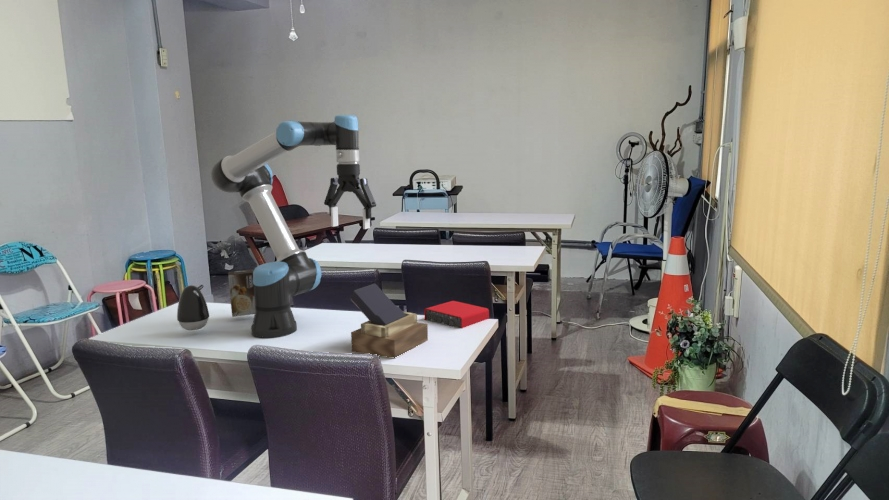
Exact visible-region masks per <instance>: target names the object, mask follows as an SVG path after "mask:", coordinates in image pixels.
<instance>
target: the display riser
mask: <svg viewBox="0 0 889 500" xmlns="http://www.w3.org/2000/svg"><path fill="white" fill-rule="evenodd" d="M403 312H404V313H405V314H406V317H403V318H401V319H399V320H397V321H394V322H392V323H390V324H388V325H385V326H381V325H375V324H373V323H372V322H370V321H369V320H367V321H364V322H362V323H360V328H358V329H356V330H353V331H351V332H350V336H351V337H350V339H351V352H353V353H359V354H364V353H370V354H377V355H380V356H379V357H382V356H387V357H386V358H389V357H394V358H393V359H396V358H395V357H397V356H399V355H401V354H402V355H404V354H406V353H408V352H409V350H410V351H412V350H413V349H415V348H417V347H418V345H419V346H420V345H422V344H424V343H426V342H427V341H428V340H429V339H428V337H429V333H428V332H429V331H428V323H423V322H418V313H413V312H407V311H403ZM416 346H417V347H416ZM407 351H408V352H407ZM405 352H406V353H405ZM403 353H404V354H403ZM370 354H369V355H370ZM402 355H401V356H402ZM399 357H400V356H399ZM397 358H398V357H397Z"/></svg>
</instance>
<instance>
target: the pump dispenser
mask: <svg viewBox="0 0 889 500" xmlns="http://www.w3.org/2000/svg"><path fill="white" fill-rule="evenodd" d="M203 288H204V284H200V285H199V286H196V285H193V284H191V285H187V286H185V287H184V288H183V289H182V291H181V294H180V296H179V299H178V303H177V311H176V312H177V313H176V314H177V315H176V318H177V322H178V323H179V325H180V327H181V328H182V329H184V330H186V331H197V330H200V329H203V328H204V327H205V326H206V325H207V324H208V321H209V317H210V312H209V307H208V304H207V301H206V299H205V296H204V294H203V293H202V291H201V290H203Z"/></svg>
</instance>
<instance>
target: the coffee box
mask: <svg viewBox="0 0 889 500" xmlns="http://www.w3.org/2000/svg"><path fill="white" fill-rule="evenodd" d="M253 271H254V270H253V269H246V270H236V271H234V270H232V271H228V272H227V276H228V278H227V279H228V285H229V287H228V288H229V297H230V309H231V310H230V311H231V316H232V317H233V318H234V317H242V316H243V317H244V316H249V315H255V299H254V287H253Z"/></svg>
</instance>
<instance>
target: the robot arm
mask: <svg viewBox="0 0 889 500" xmlns="http://www.w3.org/2000/svg"><path fill="white" fill-rule="evenodd" d="M359 131H360V129H359V123H358V117H357V116H356V115H353V114H340V115H335V116H334V120H333V122H332V121H329V122H328V121H327V122H326V121H325V122H324V121H323V122H320V121H319V122H316V121H300V120H299V121H298V120H285V121H281V122H280V123H278V126H277V127H276V131H274V132H272V133H271V134H269V135H267V136H266V137H263V138H261V139H260V140H259V141H257V142H255V143H253V144H251V145H249V146H248V147H246V148H244V149H243V150H241V151H239V152H238V153H235V154H234V155H227V156H224V157H223V158H221V159H219V160H218V161H216V163H215V164H213V165H212V168H211V172H210V178H211V179H210V180H211V181H212V183H213V185H214V186H215V187H216V188H217V189H218V190H219V191H222V192H224V193H231V194H232V193H238V194H239V196H240V197H241V199H242V201H244V202H246V203H249V206H250V208H251V210H252V212H253V213H254V214H253V215H254V216H255V218H256V220H257V221H258V224H259V226H260V228H261V230H262V232H263V233H264V237H266V240H267V241H268V243H269V246H270V248H271V250H272V252H273V254H274V256H275V258H276V261H271V262H266V263H263V264H260V265H257V266H256V267H255V268H254V270H253V287H254V299H255V314H253V315H254V316H253V321H252V324H251V327H250V329H251V332H250V333H251V335H252V336H254V337H255V338H263V339H264V338H266V339H269V338H270V339H271V338H279V337H284V336H285V337H286V336H289V335H291V334H293V333H294V334H295V332H296V331H297V330H298V328H297V327H298V325H297V324H298V323H297V321H296V320H295V316H294V314H293V310H292V309H291V298H292V297H295V296H297V295H301V294H304V293H309V292H310V291H312V290H314V289H316V288H317V287H318V286H319V285H320V283H321V278H322V268H321V266H320V264H319V263H318V261H317V260H316V259H314V258H311V257H309V256H308V255H307V253H306V251H305V250H303V249H300V248H299V246H298V244H297V242H296V240H295V239H294V236H293V235H292V232H291V231H290V228H289V226H288V224H287V222H286V220H285V218H284V216H283V215H282V212H281V210H280V208H279V206H278V204H277V202H276V200H275V199H274V196H273V195H272V190H273V188H274V187H273V181H274V179H273V177H274V174H273V171H272V169H271V167H270V166H269V163H272V162H273V161H274V160H276V159H278V158H280V157H282V156H284V155H285V154H287V153H289V152H291V151H293V150H295V149H296V148H298V147H302V146H307V147H308V146H315V147H317V146H318V147H320V146H321V147H322V146H335V157H336V158H335V160H336V163H338V164H336V175H337V176H338V177H331V178H330V179H329V180H330V183H329V186H328V191H327V194H326V197H325V199H324V201H323V203H324V205H325V206H327V207H328V208H329V217H330V220H331V228H332V227H333V228H334V227H335V228H336V227H339V210H338V209H339V206H337V204H338V203H339V201H340V199H341V198H342V196H343V194H344V193H345V192H346V193H353V194H354V195H355V196H356V198H357V200H358V201H359V202H360V203H361V206H363V208H362V229H363V230H367V229H371V219H372V208H375V207H377V203H376V200H375V199H374V196H373V193H372V191H371V189H370V186H369V182H368V178H366V177H363V178H360V174H361V165H360V164H359V163H360V161H361V160H360V146H359V142H360V141H359V138H360V137H359V134H360V133H359Z"/></svg>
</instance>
